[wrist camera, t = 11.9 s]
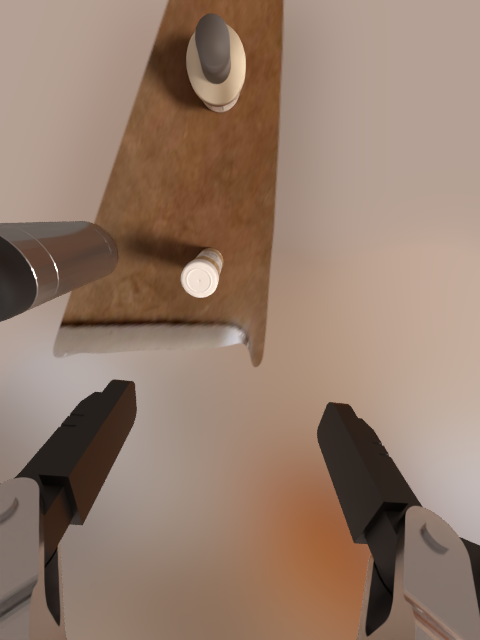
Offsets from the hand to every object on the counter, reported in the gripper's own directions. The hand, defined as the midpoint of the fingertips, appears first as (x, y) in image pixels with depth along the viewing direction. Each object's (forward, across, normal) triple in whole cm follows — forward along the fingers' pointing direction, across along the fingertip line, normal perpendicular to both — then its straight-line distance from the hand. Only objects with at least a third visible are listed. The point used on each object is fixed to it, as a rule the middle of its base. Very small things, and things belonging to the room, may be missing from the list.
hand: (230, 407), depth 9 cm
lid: (+30, +5, -23) cm, 38 cm away
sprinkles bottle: (+33, +4, 0) cm, 34 cm away
